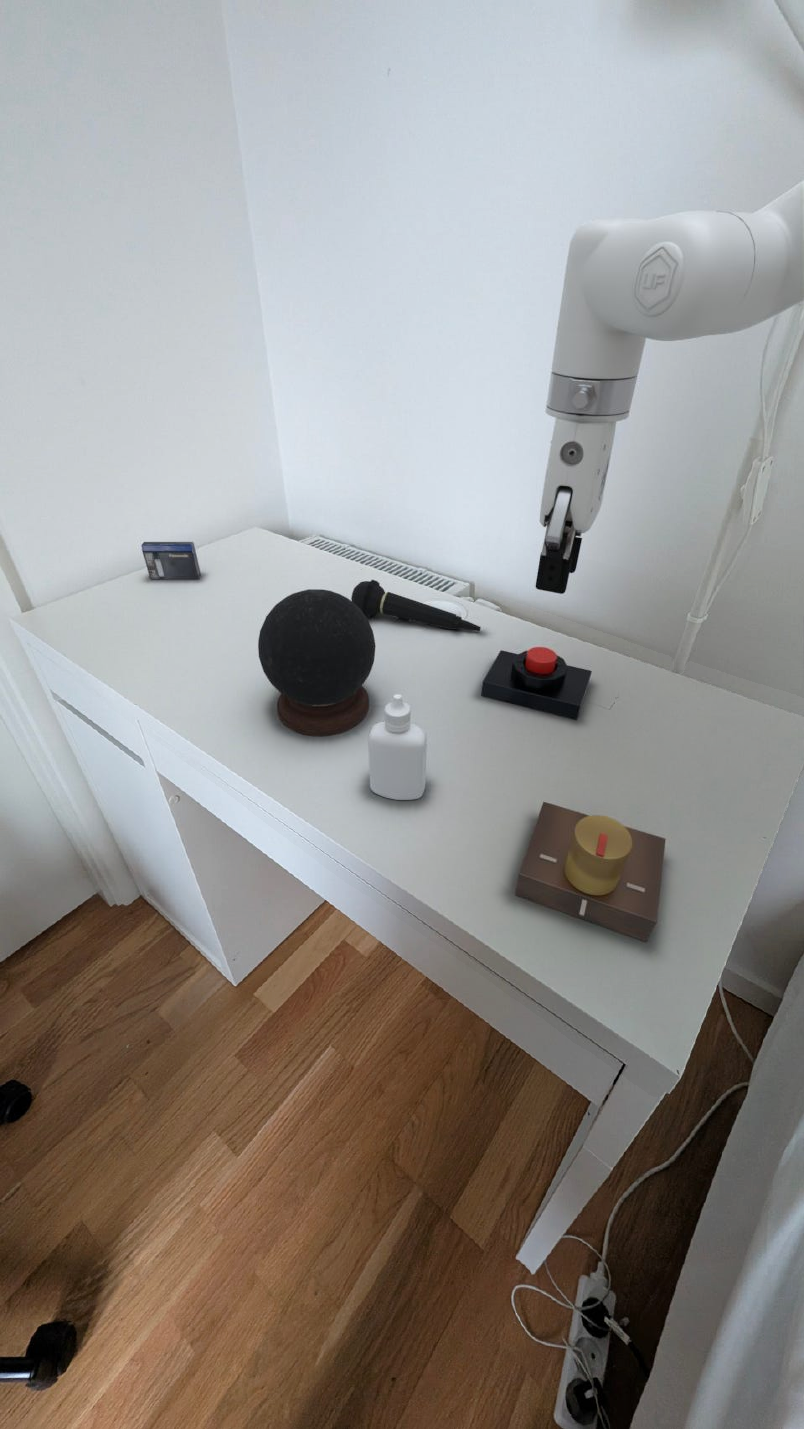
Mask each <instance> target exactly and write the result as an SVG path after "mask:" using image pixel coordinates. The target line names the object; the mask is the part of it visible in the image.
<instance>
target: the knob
mask: <svg viewBox="0 0 804 1429" xmlns="http://www.w3.org/2000/svg"><path fill="white" fill-rule="evenodd" d="M624 826H625V825H624V824H622V823H621V822H619V821H618V820H616V819H614V818H612V817H609V816H605V815H601V814H600V815H599V814H593V815H589V816H587V817H585V818H583V819H581V820H580V821H579V822H578V823H577V825H576V827H575V830H574V833H573V837H572V840H571V844H570V847H569V851H568V854H567V857H566V861H565V865H564V871H565V875H566V877H567V879H568V880H569V882H570V883H571V884H572V885H573V886H574V887H575V888H577V889H578V890H580V891H582V892H584V893H586V894H590V895H605V894H608V893H610V892H611V891H613V890H614V889H615V888H616V886H617V884H618V881H619V879H620V876H621V874H622V871H623V869H624V866H625V864H626V861H627V859H628V856H629V854H630V851H631V849H632V838H631V835H630V833H629V832H628V830H627V829H626V828H625V827H626V826H625V827H624Z"/></svg>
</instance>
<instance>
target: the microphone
mask: <svg viewBox="0 0 804 1429" xmlns="http://www.w3.org/2000/svg"><path fill="white" fill-rule="evenodd" d="M380 584H381V583H380V582H379V581H378V580H375V579H371V580H364V581H360V582H359V583H358V584H357V585H355V586H354V588H353V590H352V592H351V597H350V598H351V599H350V600H351V601H352V602H353V603H354V604H355V605H356V606H358V607H359V608H360V609H361V611H362V612H363V613H364V615H365V616H366V618H369V619H370V618H371V617H373V616H376V615H378V614H380V613H381V614H382V615H385V616H390V617H394V618H397V619H398V620H399V621H403V622H410V621H413V622H417V623H422V624H426V625H431V626H435V627H439V628H445V629H449V630H453V629H454V630H457V631H458V630H459V629H461V630H465V631H467V630H468V631H473V632H474V631H475V632H480V631H481V629H482V627H481V626H479V625H477V624H475V623H472V622H470V621H468V620H465V619H463V618H462V616H458V615H457V614H456V613H453V612H450V611H447V610H444V609H441V608H438V607H435V606H432V605H429V604H426V603H423V602H419V601H417V600H415V599H412V598H408V597H405V596H403V595H399V594H396V593H393V592H389V591H387V592H386V591H385V589H384V588H383V587H382V586H381V585H380Z"/></svg>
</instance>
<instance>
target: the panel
mask: <svg viewBox="0 0 804 1429" xmlns="http://www.w3.org/2000/svg"><path fill="white" fill-rule="evenodd" d="M587 816H590V815H589V814H587V813H586V814H585V813H583V812H581V811H577V810H573V809H569V808H567V807H563V806H560V805H556V804H553V803H550V802H547V801H542V804H541V807H540V810H539V813H538V816H537V819H536V822H535V825H534V827H533V831H532V834H531V837H530V839H529V843H528V846H527V848H526V852H525V854H524V858H523V861H522V864H521V867H520V870H519V873H518V877H517V880H516V886H515V891H514V895H515V896H517V897H520V898H523V899H526V900H528V901H531V902H533V903H536V904H539V905H542V906H545V907H548V908H551V909H552V910H556V911H559V912H561V913H564V914H568V915H570V916H573V917H576V918H578V919H581V920H584V921H586V922H589V923H592V924H594V925H597V926H600V927H602V928H606V929H609V930H612V931H614V932H617V933H620V934H623V935H625V936H628V937H630V938H634V939H636V940H639V941H642V942H645V943H647V942H648V940H649V938H650V936H651V935H652V932H653V930H654V928H655V926H656V924H657V923H658V914H659V906H660V905H659V904H660V894H661V887H662V876H663V866H664V858H665V850H666V849H665V848H666V840H667V839H666V838H665V837H661V836H658V835H654V834H653V833H652V834H651V833H648V832H645V831H641V830H639V829H635V828H633V827H629V826H625V825H623V826H624V827H625V828H626V829H627V830H628V832H629V833H630V835H631V838H632V849H631V851H630V854H629V856H628V859H627V861H626V864H625V866H624V869H623V871H622V874H621V876H620V879H619V881H618V884H617V886H616V888H615V889H614V890H613V891H611V892H610V893H608V894H605V895H590V894H586V893H584V892H582V891H580V890H578V889H577V888H575V887H574V886H573V885H572V884H571V883H570V882H569V880H568V879H567V877H566V875H565V871H564V865H565V861H566V857H567V854H568V851H569V847H570V844H571V840H572V837H573V833H574V830H575V827H576V825H577V823H578V822H579V821H580V820H581V819H583V818H585V817H587Z"/></svg>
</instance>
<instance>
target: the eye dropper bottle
mask: <svg viewBox="0 0 804 1429" xmlns="http://www.w3.org/2000/svg"><path fill="white" fill-rule="evenodd" d="M411 715H412V710H411V706H410V704H408V703H407V702H405V701H403V697H402V695H401V694H394V695H393V698H392V701H390V702H388V703H387V704H386V705H385V706H384V721H380V722H377V723H375V724H373V725H372V727H370V731H369V734H368V740H367V741H368V744H367V745H368V767H369V771H368V772H369V787H370V790H371V791H372V792H373V793H374V794H376V795H378V796H380V797H384V798H387V799H389V800H390V799H391V800H396V801H413V800H418V799H421V798H422V796H423V794H424V792H425V787H426V780H427V779H426V776H427V753H428V752H427V750H428V749H427V748H428V736H427V732H426V731H425V730H424V729H423V728H421V727H420V726H418V725H416V724H414V723H412V722H411Z"/></svg>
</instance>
